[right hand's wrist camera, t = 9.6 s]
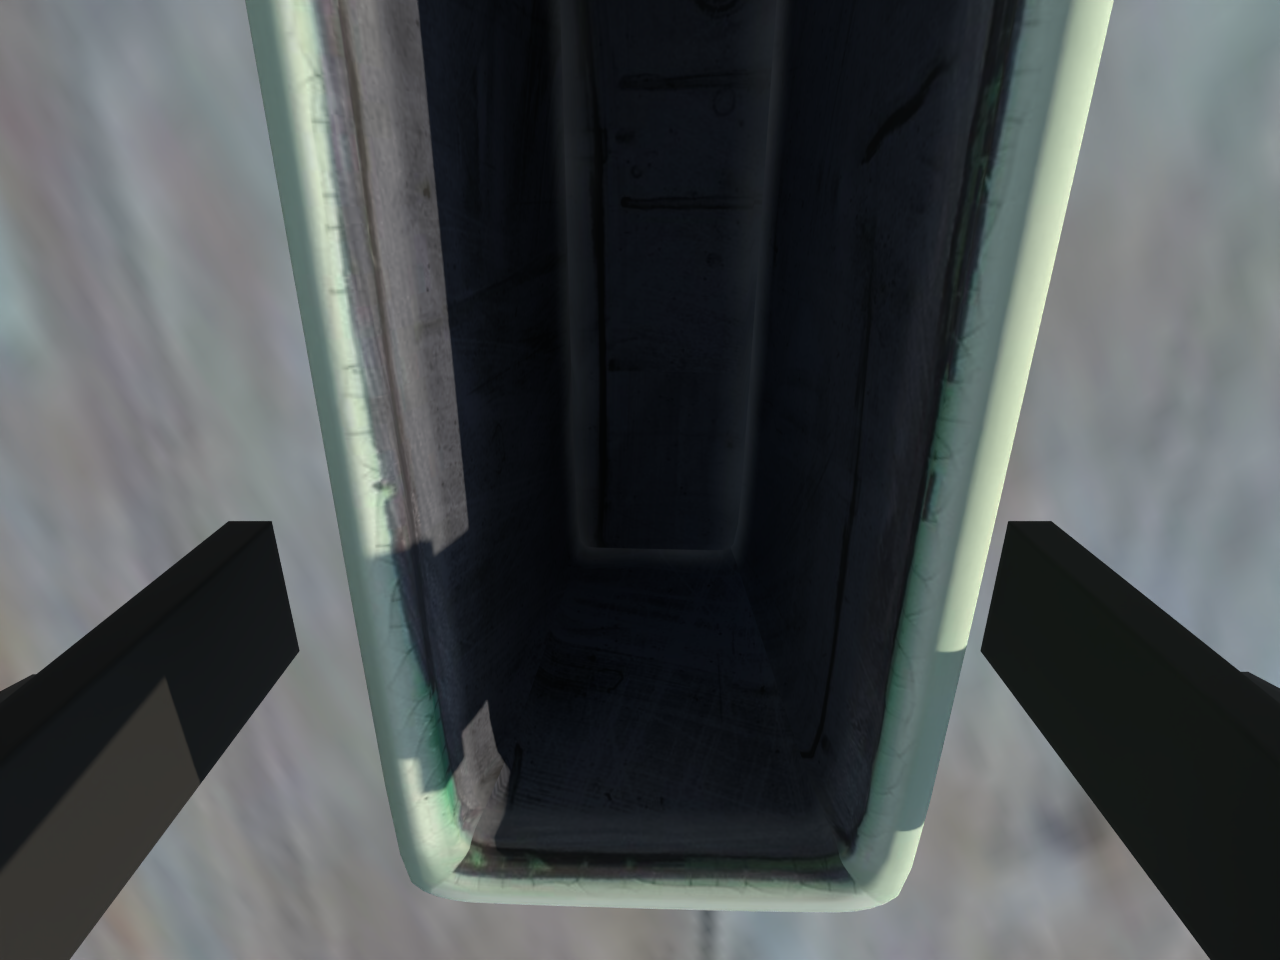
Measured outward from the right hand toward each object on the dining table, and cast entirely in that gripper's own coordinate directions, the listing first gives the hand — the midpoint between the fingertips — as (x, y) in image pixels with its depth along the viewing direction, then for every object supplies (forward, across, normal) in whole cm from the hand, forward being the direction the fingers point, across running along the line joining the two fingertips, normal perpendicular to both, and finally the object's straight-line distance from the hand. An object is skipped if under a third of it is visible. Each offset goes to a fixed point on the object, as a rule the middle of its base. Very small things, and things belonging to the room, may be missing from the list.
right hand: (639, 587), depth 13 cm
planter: (+3, 0, -11) cm, 11 cm away
